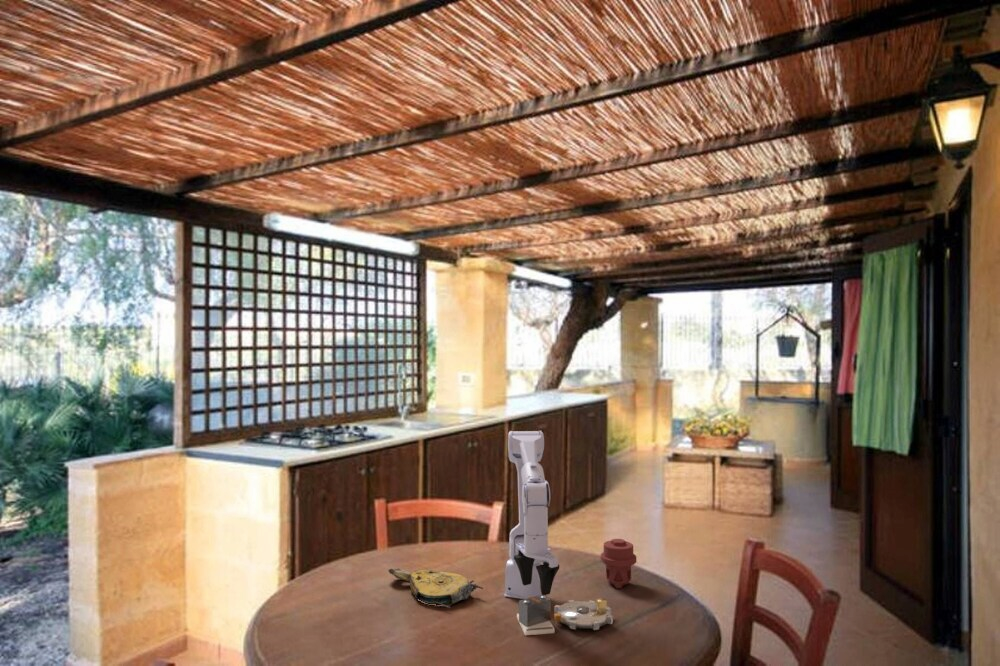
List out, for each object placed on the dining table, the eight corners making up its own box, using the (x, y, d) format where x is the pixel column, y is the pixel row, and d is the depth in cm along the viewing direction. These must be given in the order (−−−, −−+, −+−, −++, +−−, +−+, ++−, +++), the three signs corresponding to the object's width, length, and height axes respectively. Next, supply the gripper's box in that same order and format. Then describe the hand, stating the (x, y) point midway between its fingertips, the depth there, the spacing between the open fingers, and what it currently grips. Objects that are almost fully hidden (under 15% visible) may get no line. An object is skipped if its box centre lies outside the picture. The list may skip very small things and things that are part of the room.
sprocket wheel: (544, 609, 158) (543, 591, 158) (596, 602, 163) (596, 584, 163) (567, 634, 144) (567, 614, 145) (624, 625, 149) (624, 606, 149)
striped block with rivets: (542, 615, 155) (542, 593, 155) (550, 620, 152) (550, 598, 152) (518, 621, 151) (518, 599, 151) (527, 627, 148) (527, 604, 148)
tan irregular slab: (412, 551, 188) (484, 575, 168) (414, 570, 189) (486, 596, 169) (373, 570, 178) (446, 598, 158) (376, 590, 178) (448, 620, 158)
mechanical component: (636, 579, 182) (636, 592, 173) (601, 577, 184) (600, 589, 175) (636, 536, 183) (636, 546, 173) (601, 534, 185) (599, 544, 175)
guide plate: (516, 617, 156) (516, 612, 156) (544, 615, 157) (544, 610, 157) (525, 635, 146) (525, 630, 146) (554, 633, 147) (554, 628, 147)
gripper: (567, 537, 149) (568, 595, 148) (531, 523, 161) (531, 577, 160) (544, 542, 145) (544, 601, 145) (508, 527, 157) (508, 582, 157)
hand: (536, 589), depth 152 cm, fingers open, 7 cm apart
